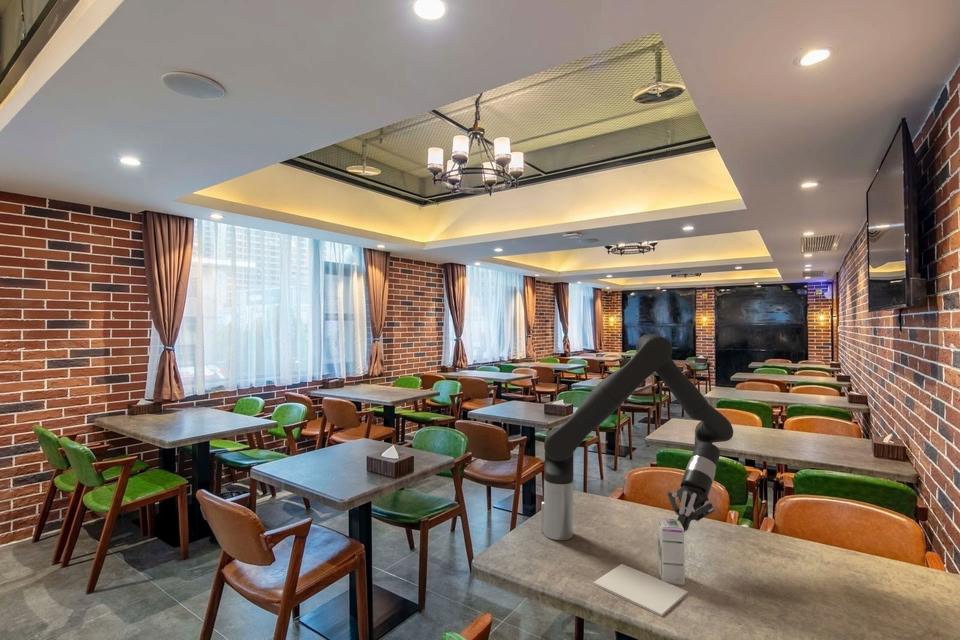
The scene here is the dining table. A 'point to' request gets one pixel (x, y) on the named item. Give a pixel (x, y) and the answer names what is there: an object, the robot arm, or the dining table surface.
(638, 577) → the placemat
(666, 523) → the syrup box
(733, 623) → the dining table surface
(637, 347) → the robot arm
